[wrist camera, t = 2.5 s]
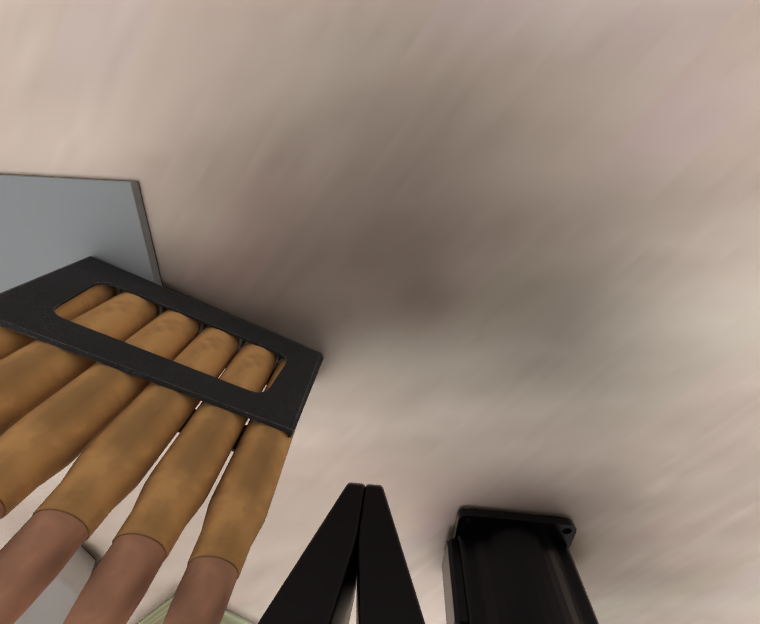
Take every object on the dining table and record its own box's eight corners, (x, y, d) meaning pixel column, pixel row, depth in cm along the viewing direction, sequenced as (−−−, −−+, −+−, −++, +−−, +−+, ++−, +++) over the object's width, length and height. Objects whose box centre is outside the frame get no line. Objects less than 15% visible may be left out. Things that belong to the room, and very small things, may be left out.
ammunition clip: (324, 354, 17) (206, 751, 6) (310, 383, 17) (179, 785, 6) (88, 254, 15) (-764, 560, 4) (83, 291, 15) (-649, 638, 5)
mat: (137, 181, 14) (130, 182, 13) (193, 419, 19) (189, 424, 18) (-54, 171, 14) (-66, 171, 14) (51, 406, 19) (44, 411, 19)
